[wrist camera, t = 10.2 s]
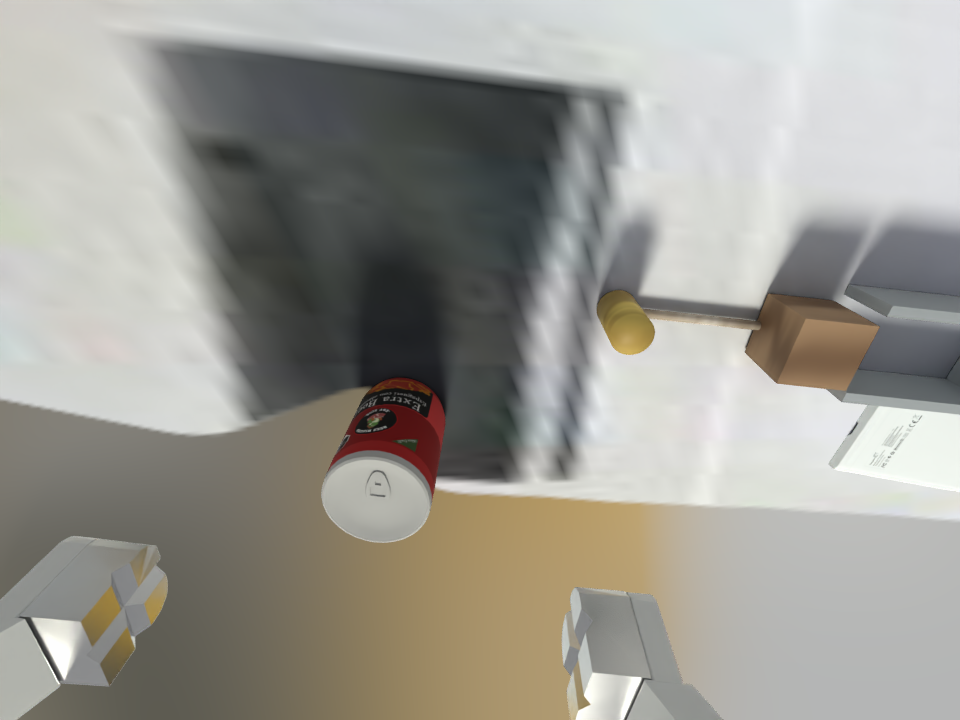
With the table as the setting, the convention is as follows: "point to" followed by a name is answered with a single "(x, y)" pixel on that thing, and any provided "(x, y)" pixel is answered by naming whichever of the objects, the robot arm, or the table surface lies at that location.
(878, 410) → the external hard drive
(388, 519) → the canned food
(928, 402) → the lane
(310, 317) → the table surface
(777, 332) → the towed block
